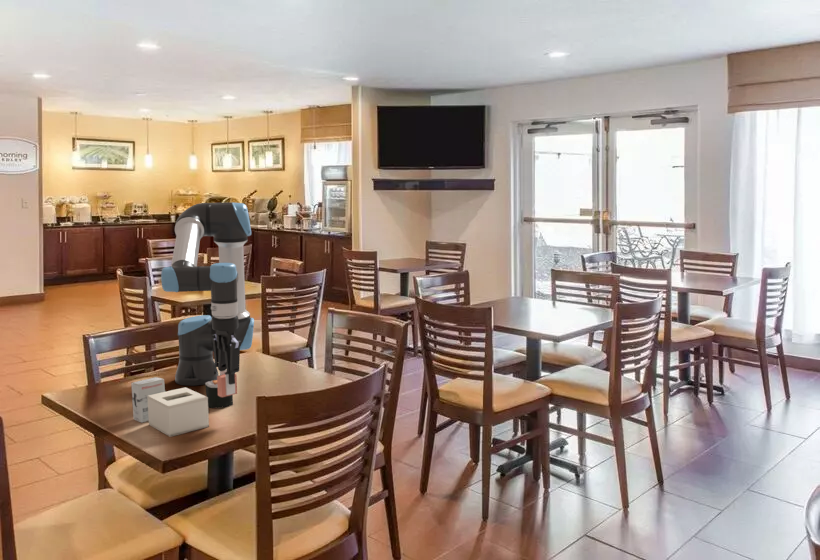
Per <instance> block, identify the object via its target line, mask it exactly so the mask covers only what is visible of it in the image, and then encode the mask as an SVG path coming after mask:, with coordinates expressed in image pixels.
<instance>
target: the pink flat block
mask: <svg viewBox="0 0 820 560" xmlns="http://www.w3.org/2000/svg"><path fill="white" fill-rule="evenodd" d="M237 377H238V376H237V373H235V394H231V395H237V394H238V380H237V379H238V378H237ZM217 386H218V396H220V397H226V396H230V395H226V382H225V374H224V375H220V374H218V376H217Z"/></svg>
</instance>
